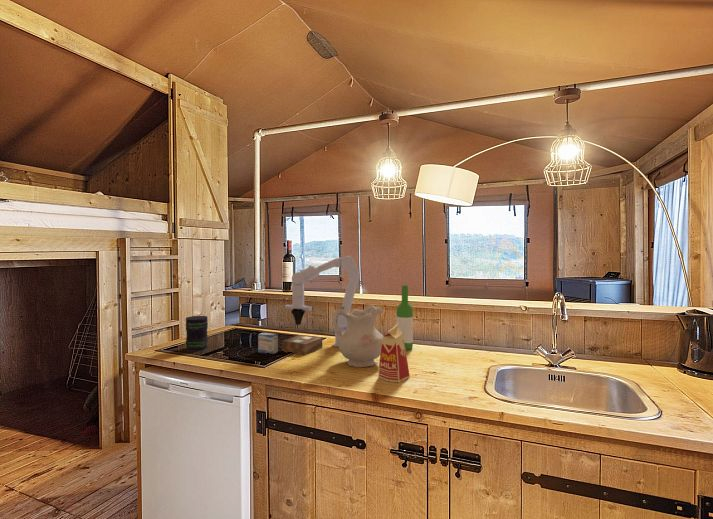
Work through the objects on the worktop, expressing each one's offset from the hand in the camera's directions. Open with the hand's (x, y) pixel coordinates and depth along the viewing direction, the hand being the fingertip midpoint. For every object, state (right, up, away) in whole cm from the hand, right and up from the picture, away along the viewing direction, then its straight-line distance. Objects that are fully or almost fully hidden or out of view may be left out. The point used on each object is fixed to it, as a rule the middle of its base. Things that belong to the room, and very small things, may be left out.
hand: (298, 324), depth 198 cm
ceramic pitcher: (+29, -12, -29) cm, 43 cm away
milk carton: (+42, -13, -47) cm, 65 cm away
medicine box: (-12, -11, -12) cm, 20 cm away
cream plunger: (+5, -11, -4) cm, 12 cm away
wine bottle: (+51, -11, -5) cm, 53 cm away
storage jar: (-47, -11, -5) cm, 49 cm away
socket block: (+3, -11, -7) cm, 13 cm away
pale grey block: (+1, -11, -10) cm, 15 cm away
